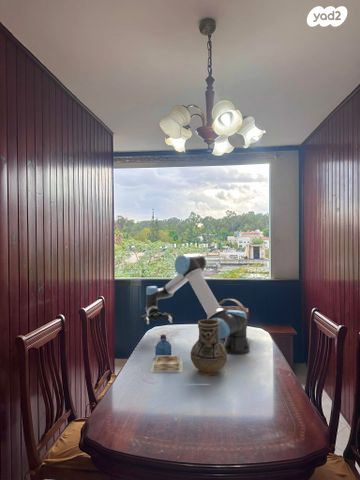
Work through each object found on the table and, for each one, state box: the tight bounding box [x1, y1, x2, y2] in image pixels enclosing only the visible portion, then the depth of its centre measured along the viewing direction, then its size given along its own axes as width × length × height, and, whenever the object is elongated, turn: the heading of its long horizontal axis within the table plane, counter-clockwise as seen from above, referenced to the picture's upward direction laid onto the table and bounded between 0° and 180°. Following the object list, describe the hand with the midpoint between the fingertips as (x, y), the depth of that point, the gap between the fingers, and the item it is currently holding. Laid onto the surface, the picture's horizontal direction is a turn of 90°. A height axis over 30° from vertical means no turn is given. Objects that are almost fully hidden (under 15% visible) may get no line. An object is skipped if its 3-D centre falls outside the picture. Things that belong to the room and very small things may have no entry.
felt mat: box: [149, 359, 184, 373], centre depth 179 cm, size 16×16×1 cm
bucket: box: [218, 298, 250, 342], centre depth 229 cm, size 24×22×25 cm
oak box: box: [154, 354, 180, 370], centre depth 179 cm, size 12×12×3 cm
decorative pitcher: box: [190, 319, 228, 376], centre depth 171 cm, size 22×18×25 cm
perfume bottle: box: [155, 334, 172, 356], centre depth 193 cm, size 6×6×12 cm
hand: (160, 321), depth 202 cm, fingers open, 13 cm apart
